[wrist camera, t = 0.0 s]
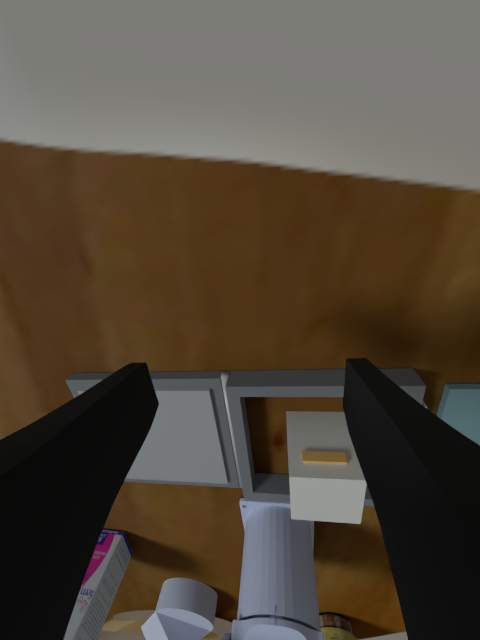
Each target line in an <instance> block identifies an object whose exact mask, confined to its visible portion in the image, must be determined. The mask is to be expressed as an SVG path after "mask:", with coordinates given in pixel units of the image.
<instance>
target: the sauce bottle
mask: <svg viewBox="0 0 480 640" xmlns="http://www.w3.org/2000/svg"><path fill="white" fill-rule="evenodd" d="M319 617H320V627H321V631H323V633H324V640H356V639H355V637H354V633H353V628H352V625H351V623H350V621H348V620H347V619H345V618H344V617H341V616H338V615H335V614H331V613H325V614H321V615H319Z"/></svg>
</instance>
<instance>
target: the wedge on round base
mask: <svg viewBox="0 0 480 640" xmlns="http://www.w3.org/2000/svg"><path fill="white" fill-rule="evenodd" d="M217 598H218V596H217V593H216V592H215V591H214V590H213V589H212V588H211V587H209V586H208V585H206V584H204V583H202V582H199V581H196V580H192V579H187V578H171V579H168V580H166V581H165V582H164V583H163V586H162V589H161V593H160V596H159V600H158V603H157V607H156V610H155V613H154V614H153V615H152V616H151V617H150V618H149V619H148V620H147V621H146V622H145V623H144V625H143V626H142V627H141V629H142V631H143V634H144V636H145V638H146V640H200V639H201V638H203V637H204V636H205V635H207V634H208V633H210V632H211V631H212V630H213V626H214V619H215V612H216V605H217Z"/></svg>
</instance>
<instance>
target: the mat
mask: <svg viewBox="0 0 480 640" xmlns="http://www.w3.org/2000/svg"><path fill="white" fill-rule="evenodd" d="M436 416H438V417H439V418H440V419H442V420H443V421H445V422H446V423H447V424H449V425H450V426H451V427H453V428H454V429H456V430H457V431H459V432H460V433H462V434H463V435H465V436H466V437H467V438H469V439H471V440H472V441H474V442H475V443H477V444H478V445H480V384H445V387H444V391H443V394H442V398H441V401H440V405H439V408H438V412H437V415H436Z"/></svg>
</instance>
